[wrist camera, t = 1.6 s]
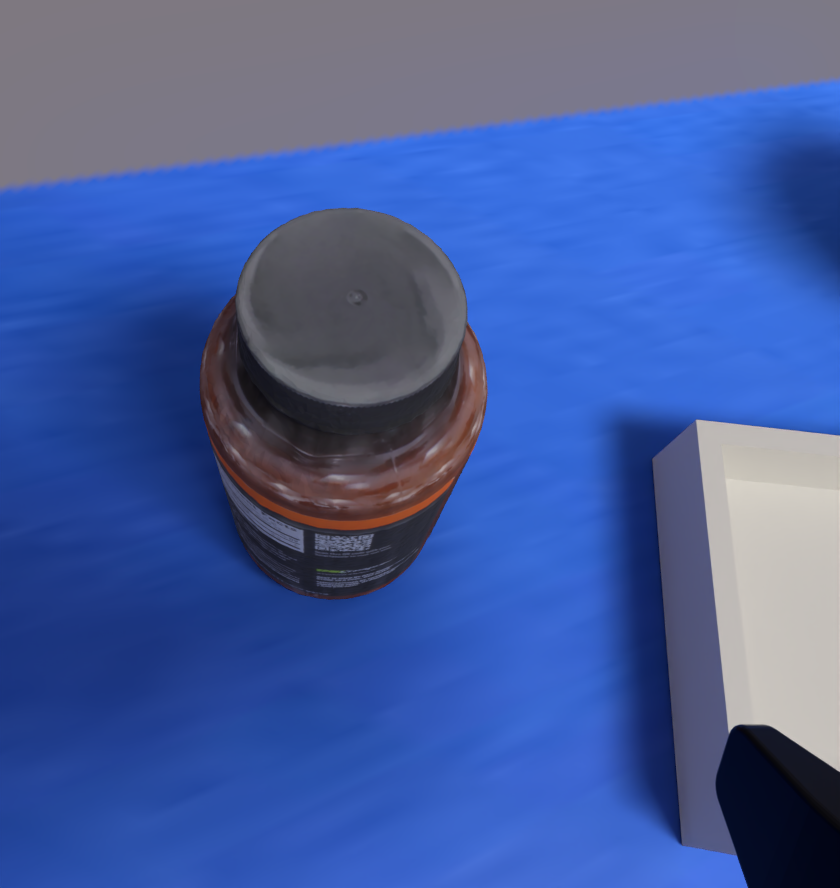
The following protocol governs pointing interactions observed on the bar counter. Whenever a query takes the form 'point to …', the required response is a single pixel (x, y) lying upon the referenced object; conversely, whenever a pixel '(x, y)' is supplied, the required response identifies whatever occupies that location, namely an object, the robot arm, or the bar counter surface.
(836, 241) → the bar counter surface
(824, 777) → the robot arm
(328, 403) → the supplement bottle
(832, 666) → the tray
